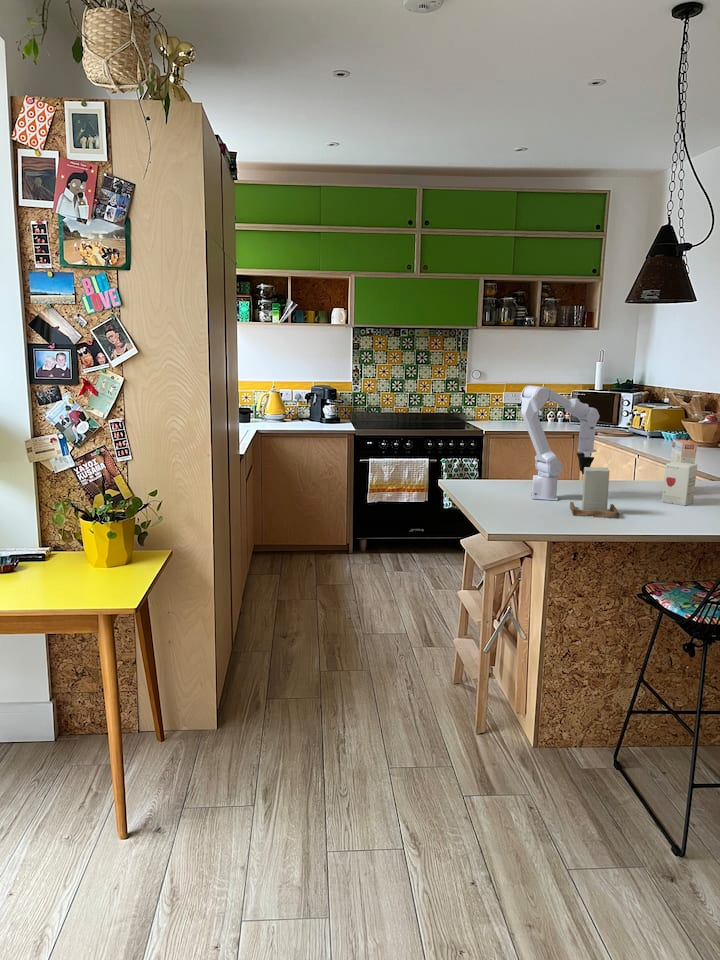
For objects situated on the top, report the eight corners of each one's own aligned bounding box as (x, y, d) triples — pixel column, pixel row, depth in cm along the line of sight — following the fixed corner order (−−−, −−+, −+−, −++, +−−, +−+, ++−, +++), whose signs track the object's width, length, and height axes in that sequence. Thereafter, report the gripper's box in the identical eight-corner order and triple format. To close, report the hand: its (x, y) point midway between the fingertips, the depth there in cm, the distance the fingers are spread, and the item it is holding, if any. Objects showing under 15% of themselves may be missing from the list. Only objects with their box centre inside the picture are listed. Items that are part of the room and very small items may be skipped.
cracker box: (692, 495, 286) (697, 443, 282) (676, 494, 287) (681, 443, 283) (682, 488, 300) (687, 439, 296) (667, 487, 301) (672, 438, 297)
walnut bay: (573, 515, 245) (573, 510, 245) (569, 507, 259) (570, 501, 259) (618, 518, 243) (619, 512, 242) (612, 509, 256) (613, 504, 256)
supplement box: (661, 502, 271) (664, 463, 268) (669, 498, 278) (673, 461, 275) (685, 506, 265) (689, 466, 262) (693, 502, 271) (698, 464, 269)
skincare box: (604, 510, 255) (608, 467, 252) (607, 514, 248) (611, 470, 245) (580, 508, 256) (583, 465, 254) (581, 513, 250) (585, 468, 247)
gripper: (599, 440, 267) (596, 476, 269) (595, 436, 281) (592, 470, 283) (580, 440, 268) (577, 475, 271) (576, 435, 282) (574, 469, 285)
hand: (583, 472), depth 277 cm, fingers open, 7 cm apart
